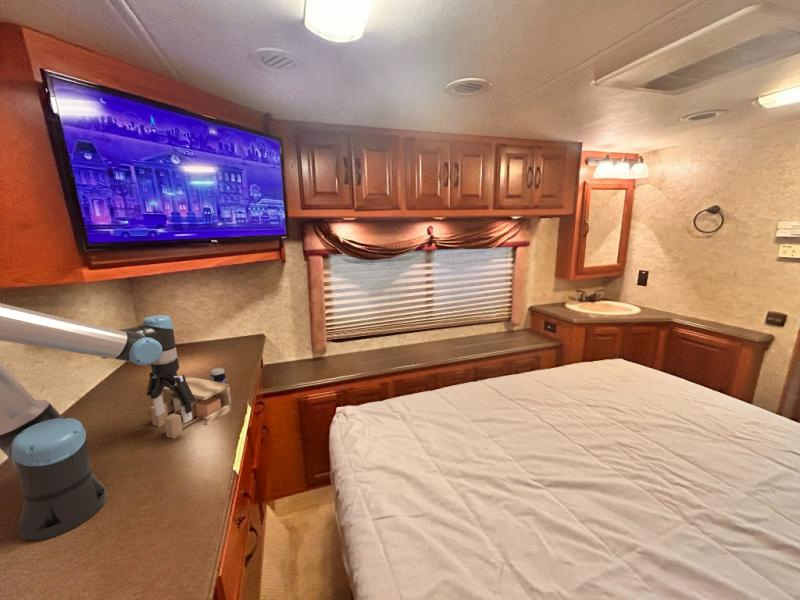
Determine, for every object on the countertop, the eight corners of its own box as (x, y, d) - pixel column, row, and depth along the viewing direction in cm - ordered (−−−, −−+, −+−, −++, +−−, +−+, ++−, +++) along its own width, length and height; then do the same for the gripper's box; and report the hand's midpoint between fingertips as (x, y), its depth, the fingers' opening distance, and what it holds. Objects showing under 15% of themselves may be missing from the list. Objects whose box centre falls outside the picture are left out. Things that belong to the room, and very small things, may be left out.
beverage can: (220, 399, 137) (218, 373, 135) (209, 397, 138) (206, 372, 136) (230, 393, 143) (227, 368, 141) (219, 391, 144) (216, 367, 142)
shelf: (207, 424, 118) (204, 397, 116) (164, 413, 125) (160, 387, 123) (231, 409, 129) (229, 384, 127) (190, 400, 136) (187, 376, 134)
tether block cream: (161, 427, 117) (159, 409, 115) (150, 424, 118) (147, 407, 117) (199, 407, 131) (197, 391, 129) (188, 404, 133) (186, 389, 131)
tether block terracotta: (176, 439, 110) (173, 421, 108) (163, 435, 111) (161, 417, 110) (221, 412, 127) (220, 396, 126) (210, 409, 129) (208, 393, 128)
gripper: (201, 360, 106) (210, 417, 111) (150, 352, 114) (159, 406, 119) (180, 369, 100) (190, 430, 104) (127, 360, 107) (138, 416, 112)
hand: (173, 417), depth 111 cm, fingers open, 13 cm apart
